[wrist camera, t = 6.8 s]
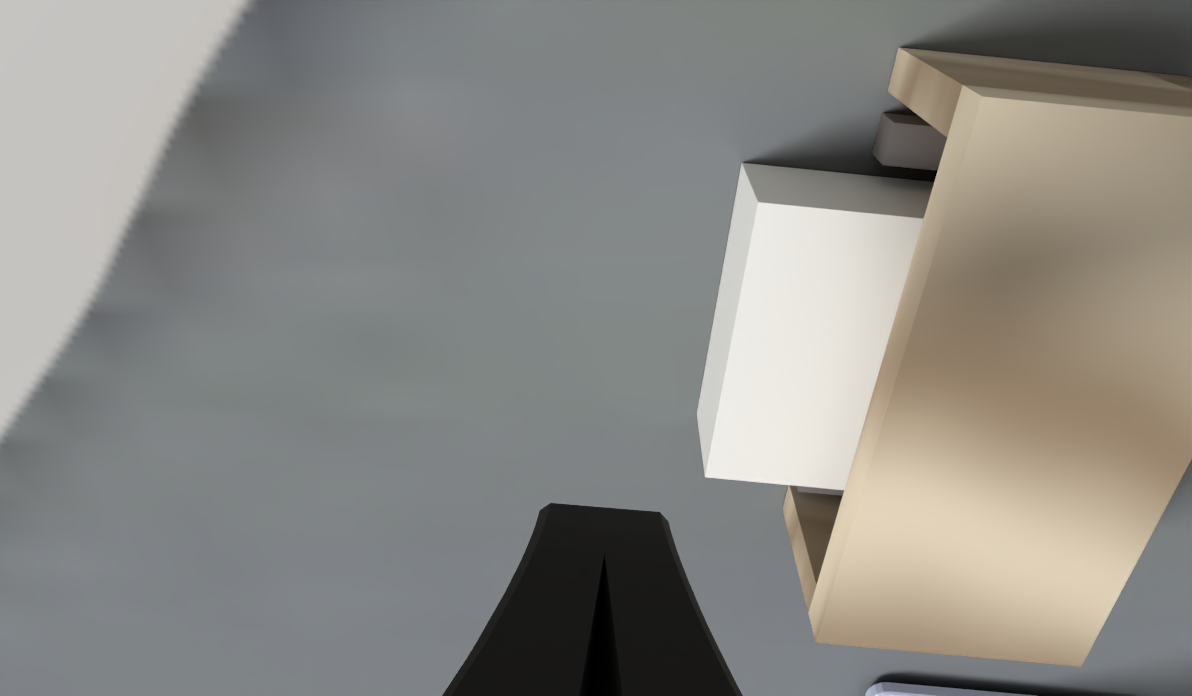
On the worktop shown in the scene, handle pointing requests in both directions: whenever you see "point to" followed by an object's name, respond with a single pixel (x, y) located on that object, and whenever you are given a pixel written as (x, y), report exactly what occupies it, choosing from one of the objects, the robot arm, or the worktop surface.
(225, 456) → the worktop surface
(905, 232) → the cover
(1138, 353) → the overhang shelf
